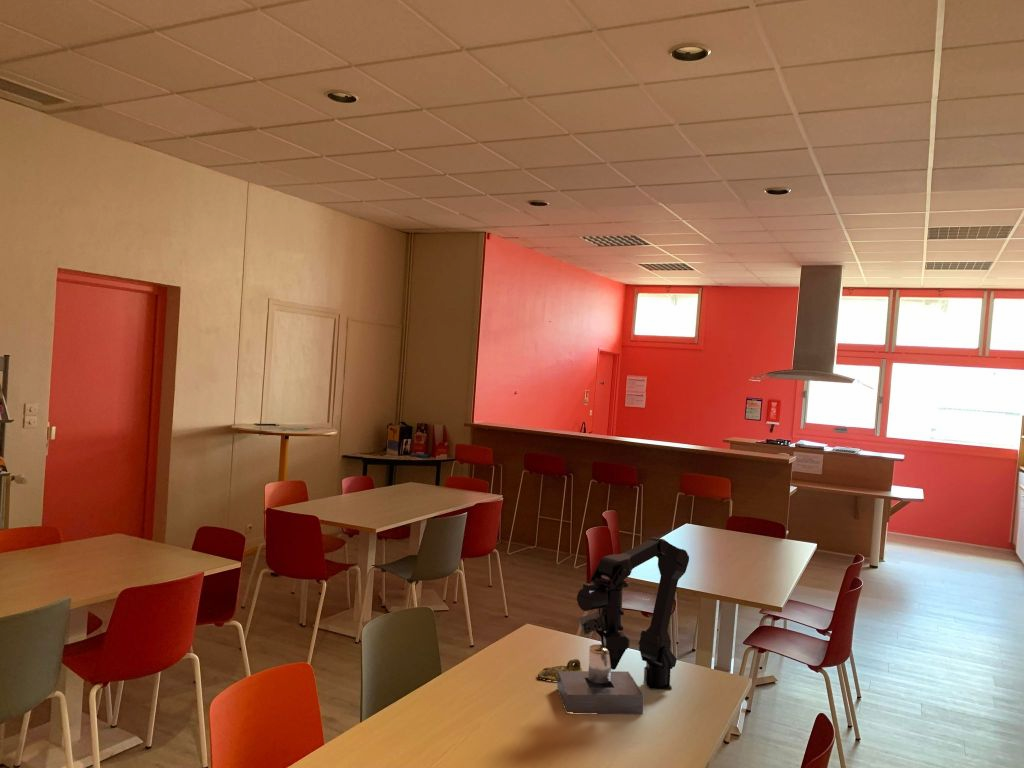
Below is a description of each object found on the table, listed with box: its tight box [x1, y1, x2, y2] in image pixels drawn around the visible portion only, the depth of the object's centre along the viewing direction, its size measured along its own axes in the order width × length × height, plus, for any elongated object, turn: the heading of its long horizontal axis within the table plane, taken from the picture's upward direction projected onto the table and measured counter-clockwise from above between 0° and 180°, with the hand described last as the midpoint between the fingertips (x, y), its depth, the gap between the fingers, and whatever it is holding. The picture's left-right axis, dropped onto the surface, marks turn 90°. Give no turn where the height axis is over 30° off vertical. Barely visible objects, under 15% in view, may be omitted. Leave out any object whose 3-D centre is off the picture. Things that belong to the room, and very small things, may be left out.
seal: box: [537, 658, 583, 681], centre depth 219 cm, size 9×5×15 cm
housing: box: [556, 670, 644, 715], centre depth 202 cm, size 20×16×5 cm
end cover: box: [588, 644, 612, 683], centre depth 202 cm, size 6×6×8 cm
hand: (609, 662), depth 203 cm, fingers open, 9 cm apart
